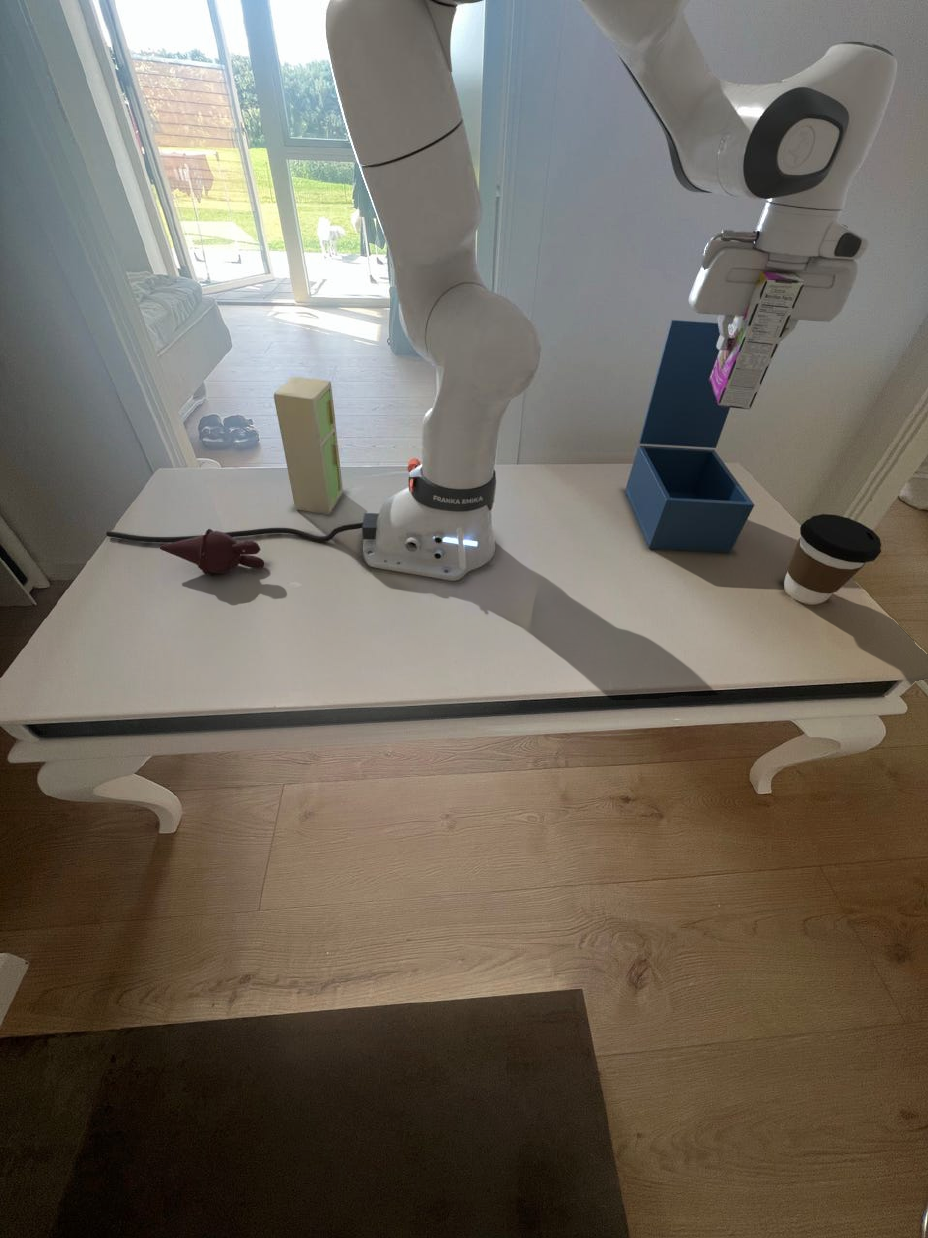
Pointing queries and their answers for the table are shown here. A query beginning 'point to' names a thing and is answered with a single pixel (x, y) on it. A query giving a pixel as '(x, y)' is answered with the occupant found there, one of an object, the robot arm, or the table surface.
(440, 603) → the table surface
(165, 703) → the table surface
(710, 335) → the lid
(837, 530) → the coffee cup
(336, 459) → the toy refrigerator
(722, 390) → the candy bar box
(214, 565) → the icecream
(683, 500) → the cool box
